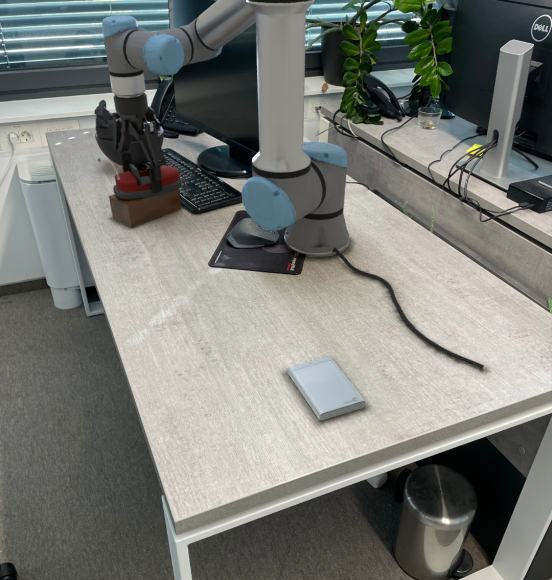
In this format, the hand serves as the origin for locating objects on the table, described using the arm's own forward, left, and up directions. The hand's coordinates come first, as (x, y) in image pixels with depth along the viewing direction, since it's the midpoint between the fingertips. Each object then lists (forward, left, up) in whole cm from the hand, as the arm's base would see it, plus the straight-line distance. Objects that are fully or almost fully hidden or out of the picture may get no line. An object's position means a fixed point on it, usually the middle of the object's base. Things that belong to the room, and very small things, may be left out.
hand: (143, 185), depth 146 cm
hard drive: (-77, +22, -8) cm, 80 cm away
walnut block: (0, 0, -7) cm, 7 cm away
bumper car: (0, 0, -2) cm, 2 cm away
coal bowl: (+30, -18, -8) cm, 36 cm away
